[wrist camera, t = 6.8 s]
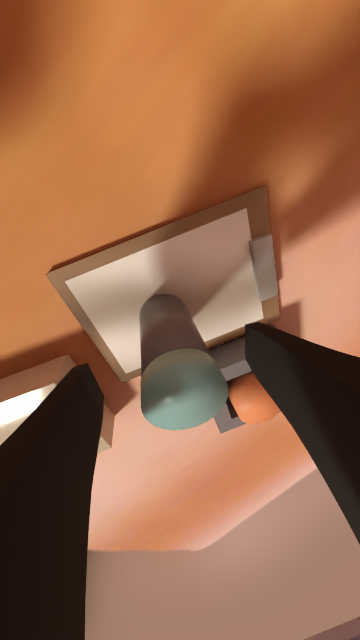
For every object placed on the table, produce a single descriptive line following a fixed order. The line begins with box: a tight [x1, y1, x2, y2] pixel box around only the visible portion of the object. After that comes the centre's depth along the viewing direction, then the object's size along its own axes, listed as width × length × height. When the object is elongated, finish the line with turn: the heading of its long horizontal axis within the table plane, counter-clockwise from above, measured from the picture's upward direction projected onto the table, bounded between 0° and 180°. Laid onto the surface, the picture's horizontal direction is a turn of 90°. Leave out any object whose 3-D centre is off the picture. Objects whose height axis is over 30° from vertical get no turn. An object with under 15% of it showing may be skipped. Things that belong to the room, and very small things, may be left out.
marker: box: [139, 294, 228, 430], centre depth 11 cm, size 3×3×7 cm
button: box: [228, 371, 281, 424], centre depth 16 cm, size 4×4×2 cm
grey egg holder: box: [209, 324, 277, 433], centre depth 17 cm, size 7×7×2 cm
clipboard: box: [45, 186, 280, 383], centre depth 13 cm, size 9×13×1 cm
